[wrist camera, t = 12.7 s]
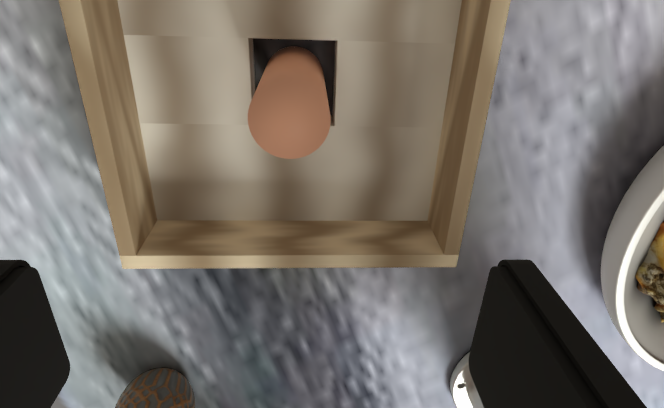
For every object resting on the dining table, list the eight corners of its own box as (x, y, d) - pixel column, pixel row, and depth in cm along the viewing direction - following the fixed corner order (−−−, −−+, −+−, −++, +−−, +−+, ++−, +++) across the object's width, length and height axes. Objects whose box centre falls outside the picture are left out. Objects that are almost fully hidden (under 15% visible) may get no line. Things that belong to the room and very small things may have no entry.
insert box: (482, -113, 25) (539, -141, 19) (430, 215, 36) (456, 267, 29) (92, -132, 24) (18, -168, 18) (155, 215, 34) (122, 268, 28)
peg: (324, 46, 29) (332, 79, 20) (322, 106, 31) (329, 159, 22) (263, 45, 29) (245, 77, 20) (266, 105, 31) (250, 158, 22)
